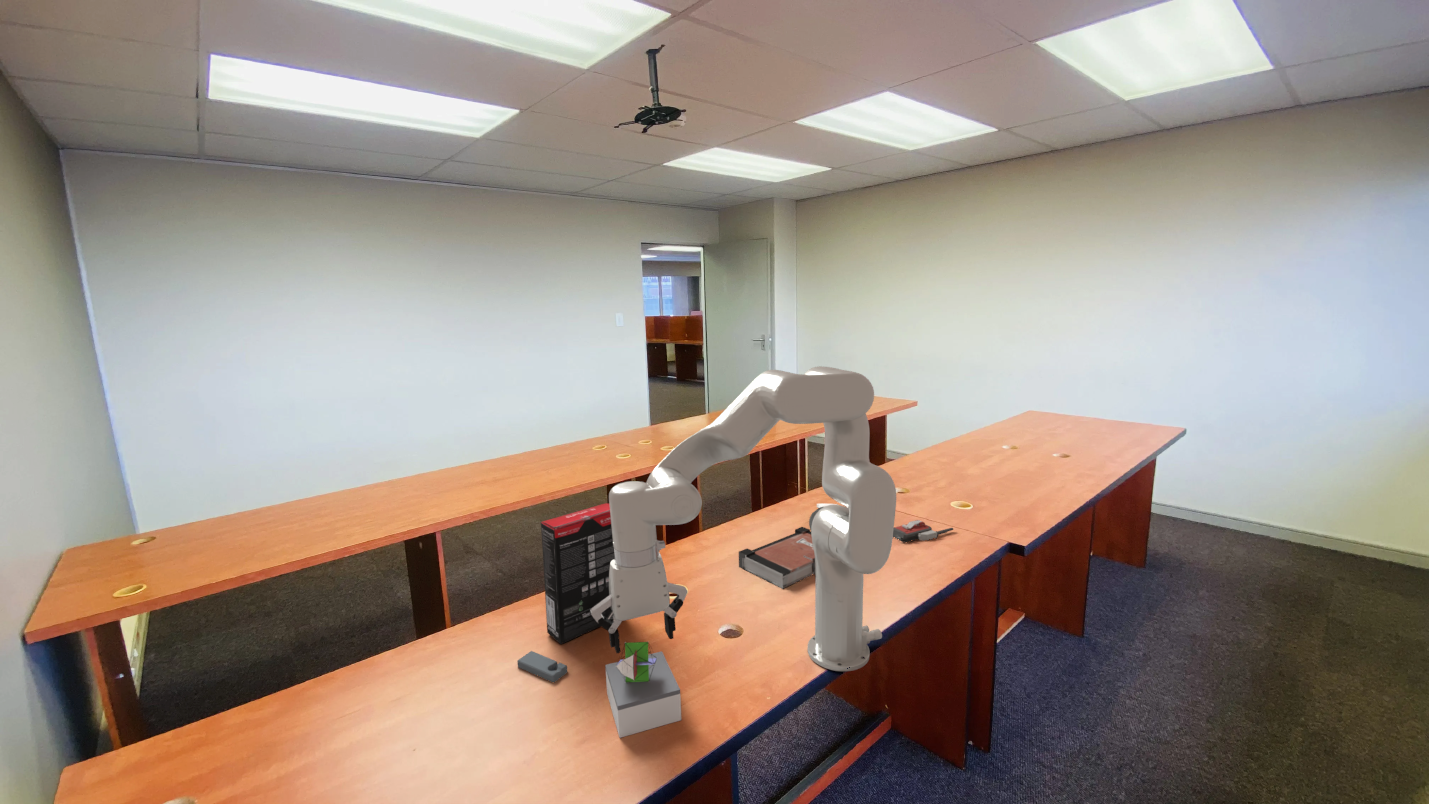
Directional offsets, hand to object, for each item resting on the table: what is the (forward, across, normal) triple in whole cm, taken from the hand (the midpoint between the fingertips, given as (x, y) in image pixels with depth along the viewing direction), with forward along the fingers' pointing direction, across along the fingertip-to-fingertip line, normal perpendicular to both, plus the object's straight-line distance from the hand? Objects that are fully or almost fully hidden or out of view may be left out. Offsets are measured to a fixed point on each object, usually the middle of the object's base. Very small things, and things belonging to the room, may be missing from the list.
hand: (643, 641), depth 102 cm
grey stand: (+13, +1, 0) cm, 13 cm away
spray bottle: (+16, -77, -65) cm, 102 cm away
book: (+15, -52, -40) cm, 68 cm away
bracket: (+13, +18, -18) cm, 29 cm away
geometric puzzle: (+7, +2, 0) cm, 7 cm away
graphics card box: (+13, +7, -31) cm, 34 cm away
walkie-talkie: (+16, -97, -42) cm, 107 cm away
